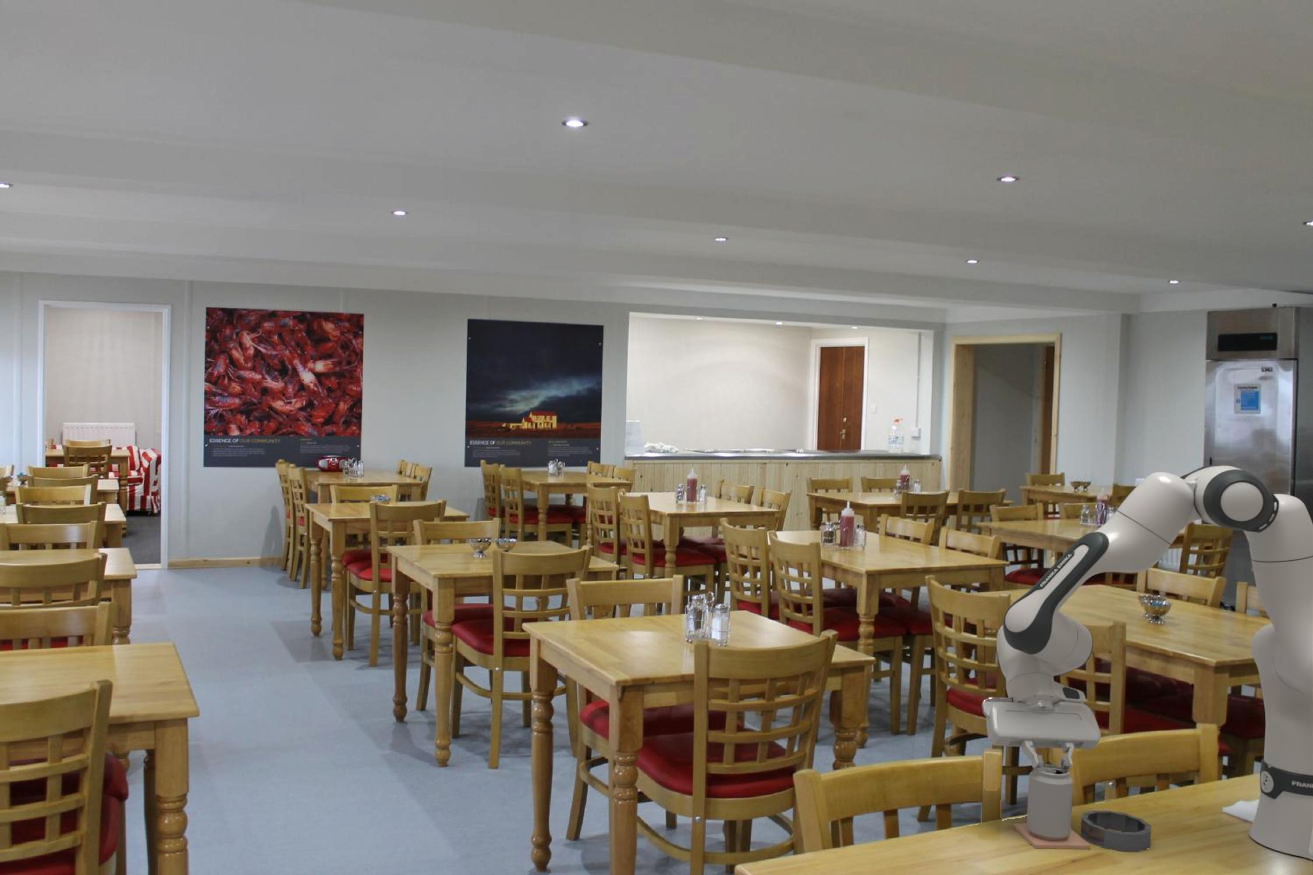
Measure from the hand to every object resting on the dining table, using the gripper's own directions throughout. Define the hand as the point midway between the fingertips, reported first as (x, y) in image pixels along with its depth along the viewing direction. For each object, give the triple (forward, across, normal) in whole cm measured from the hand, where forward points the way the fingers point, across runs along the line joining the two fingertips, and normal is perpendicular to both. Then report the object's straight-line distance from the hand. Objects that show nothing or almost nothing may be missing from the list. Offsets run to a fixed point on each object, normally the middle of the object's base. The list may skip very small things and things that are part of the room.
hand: (1052, 766), depth 201 cm
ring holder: (+8, +13, +10) cm, 18 cm away
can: (+8, 0, +10) cm, 13 cm away
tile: (+8, +1, +10) cm, 13 cm away
